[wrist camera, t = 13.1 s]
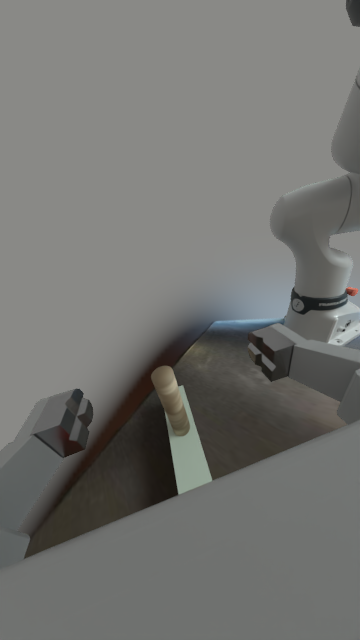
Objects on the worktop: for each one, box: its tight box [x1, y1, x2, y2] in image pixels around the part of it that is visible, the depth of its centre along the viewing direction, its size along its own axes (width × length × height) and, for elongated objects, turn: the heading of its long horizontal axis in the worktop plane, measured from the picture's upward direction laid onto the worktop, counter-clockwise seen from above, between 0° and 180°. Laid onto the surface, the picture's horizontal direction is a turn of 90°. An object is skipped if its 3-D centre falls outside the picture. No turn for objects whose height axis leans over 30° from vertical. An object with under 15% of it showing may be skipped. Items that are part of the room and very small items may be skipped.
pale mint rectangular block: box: [165, 385, 212, 494], centre depth 32 cm, size 5×18×6 cm, turn 13°
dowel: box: [151, 366, 190, 436], centre depth 27 cm, size 3×3×14 cm
